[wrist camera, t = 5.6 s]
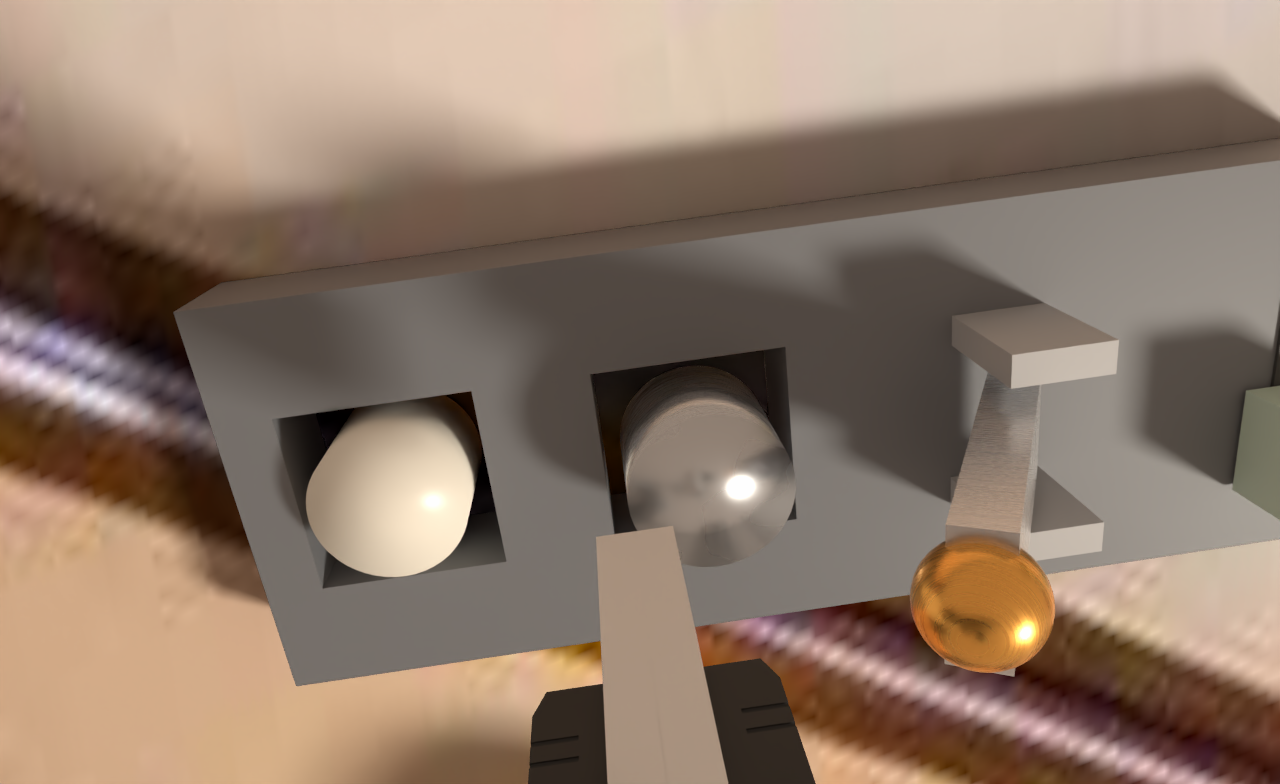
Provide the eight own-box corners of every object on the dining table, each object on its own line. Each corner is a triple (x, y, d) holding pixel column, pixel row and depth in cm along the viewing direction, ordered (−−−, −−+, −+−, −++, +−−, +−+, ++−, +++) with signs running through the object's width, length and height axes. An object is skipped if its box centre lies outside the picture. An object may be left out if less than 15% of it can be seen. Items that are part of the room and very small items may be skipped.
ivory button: (359, 521, 26) (328, 587, 22) (325, 396, 24) (287, 448, 21) (493, 501, 26) (481, 564, 22) (467, 376, 24) (451, 424, 21)
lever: (962, 469, 23) (900, 699, 15) (964, 364, 22) (897, 556, 14) (1062, 478, 22) (1048, 730, 14) (1069, 368, 21) (1056, 577, 13)
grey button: (629, 509, 24) (638, 578, 21) (610, 376, 23) (617, 428, 20) (769, 488, 24) (800, 554, 21) (759, 355, 23) (790, 403, 20)
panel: (324, 622, 27) (257, 772, 21) (221, 282, 23) (105, 354, 17) (1250, 485, 28) (1428, 594, 22) (1303, 134, 24) (1535, 156, 18)
